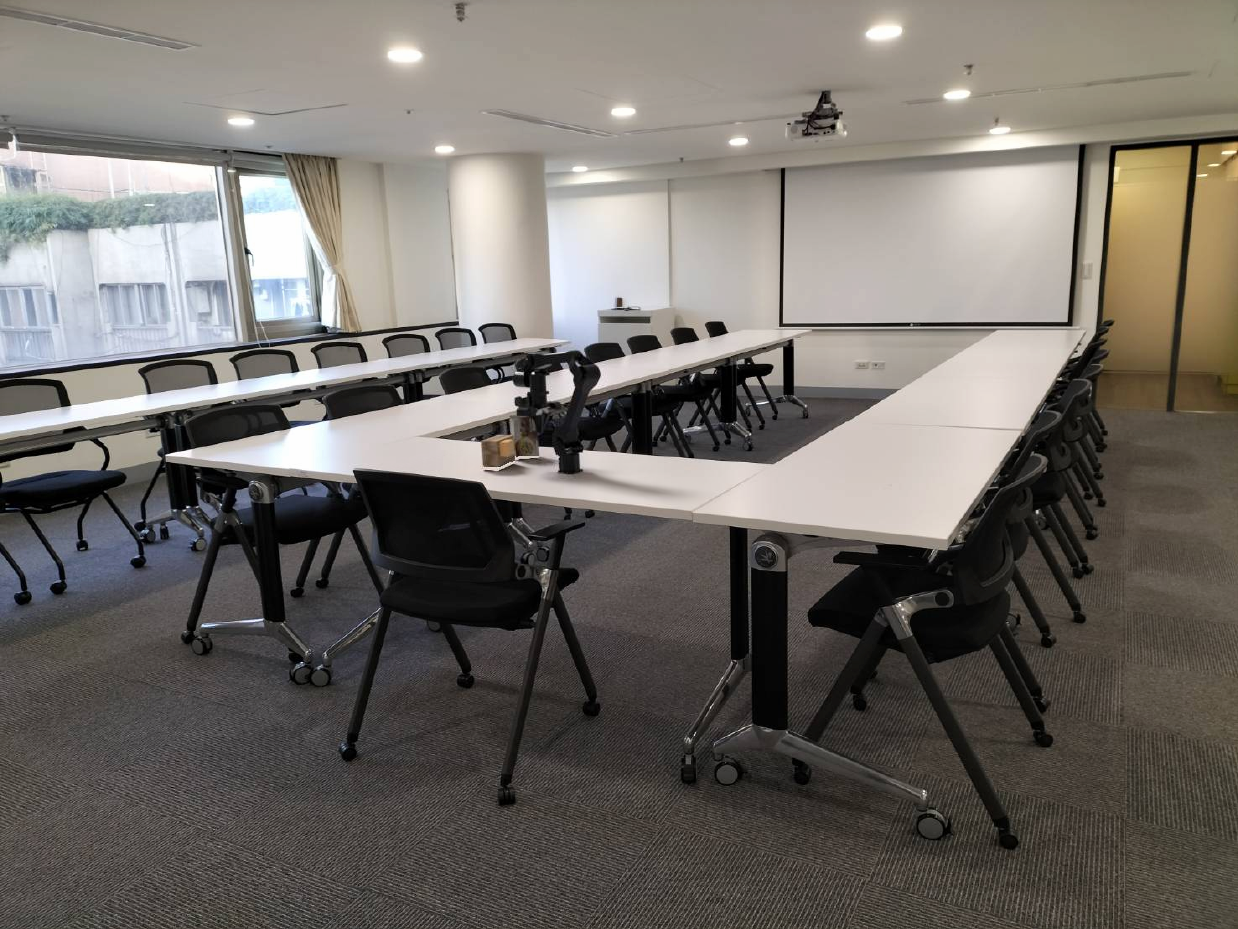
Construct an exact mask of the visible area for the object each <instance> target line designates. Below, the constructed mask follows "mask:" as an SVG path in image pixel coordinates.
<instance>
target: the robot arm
mask: <svg viewBox="0 0 1238 929" xmlns="http://www.w3.org/2000/svg"><path fill="white" fill-rule="evenodd" d="M565 363H566V364H567V365H568V370H569V372H570V373H571V375H572V376H573V378H572V381H573V382H572V383H573V385H574V386H573V387H574V389H573V392H572V395H571V398H570V402H569V404H568V407H567V410H566V412H565V417H564V419H563V422H562V424H557V425H555V426H554V428H553V429H554V430H553V433H552V434H551V437H552V438H551V443H552V447H553V451H554V453H555V455H556V456H558V470H557V471H558V472H557V473H559V472H568V473H567V474H570V473H573V474H575V473H574V472H576V473H578V472H579V473H580V472H583V471H584V469H583V468H581V460H580V457H581V456H580V455H581V454H582V453H583V452H584V449H585V448H584V445H583V443H582V442H581V441H580V439H579V430H578V425H579V422H580V420H581V417H582V413H583V412H584V409H585V406H586V402H587V400H588V397H589V394H590V392H591V391H592V390H593V389H594V388H595V387H596V386H597V385H598V383H599V381H600V380H601V377H602V372H601V370H600V368H599V366H598V365H597V363H595V362H594V361H593V360H592V359H590V358H589V357H587V356H586V355H584V354H583V353H582V352H581V351H580V350H578V349H575V350H567V351H564V352H563V351H562V352H561V351H560V352H554V353H551V352H548V351H534V352H533V351H532V352H527V353H526V356H525V357H524V361H523V363H522V365H521V366H520V367H516V371H515V373H514V374H513V376H512V378H511V379H512V383H513V385H514V386H515V387H517V388H525V389H527V388H528V389H529V391H527V393H526V396H524V397H522V396H521V395H519V396H516V397H514V401H513V402H514V406H515V407H517V409H516V411H515V412H516V413H515V415H517V416H530V417H531V418H532V419H533V421H534V423H535V425H536V428H537V431H538V434H543V432H544V430H545V428H546V425H547V423H548V420H550V417H551V415H552V414H553V412H552V411H551V412H550V411H549V410H555V411H560V410H562V403H561V402H560V401H555V400H554V401H552V400H548V396H547V395H549V394H550V390H547V377H548V376H551V373H550V372H549V371H548V370H547V369H546V368H549V367H551V366H552V365H557V364H565ZM577 364H578V365H577ZM546 376H547V377H546ZM580 453H581V454H580Z"/></svg>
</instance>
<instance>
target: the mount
mask: <svg viewBox="0 0 1238 929" xmlns="http://www.w3.org/2000/svg"><path fill="white" fill-rule="evenodd" d="M504 440H513V441H514V454H513V455H511V456H508V457H502V456H500V449H499V442H501V441H504ZM480 441H481V442H480V443H481V445H480V446H481V459H482V460H481V461H482V467H483V466H484V467H501V466H503V465H505V464H507V463H509V462H513V461H515V462H516V460H515V451H516V450H515V438H514V435H511V434H496V435H495V436H492V437H489V438H486V439H483V440H480Z"/></svg>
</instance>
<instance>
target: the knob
mask: <svg viewBox="0 0 1238 929" xmlns="http://www.w3.org/2000/svg"><path fill="white" fill-rule="evenodd" d="M499 449H500V456H502V457H508V456H511V455H513V454H514V441H513V440H504V441H501V442H499Z"/></svg>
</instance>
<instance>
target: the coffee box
mask: <svg viewBox="0 0 1238 929" xmlns="http://www.w3.org/2000/svg"><path fill="white" fill-rule="evenodd" d="M509 428H510V435H514V438H515V450H516V451H515V456H516V457H518V456H539V457H540V449H539V448H540V447H539V446H540V445H539V433H538V430H537V428H536V425H535V423H534V421H533V419H532V418H531V417H530V416H517V414H513V415H509Z"/></svg>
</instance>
